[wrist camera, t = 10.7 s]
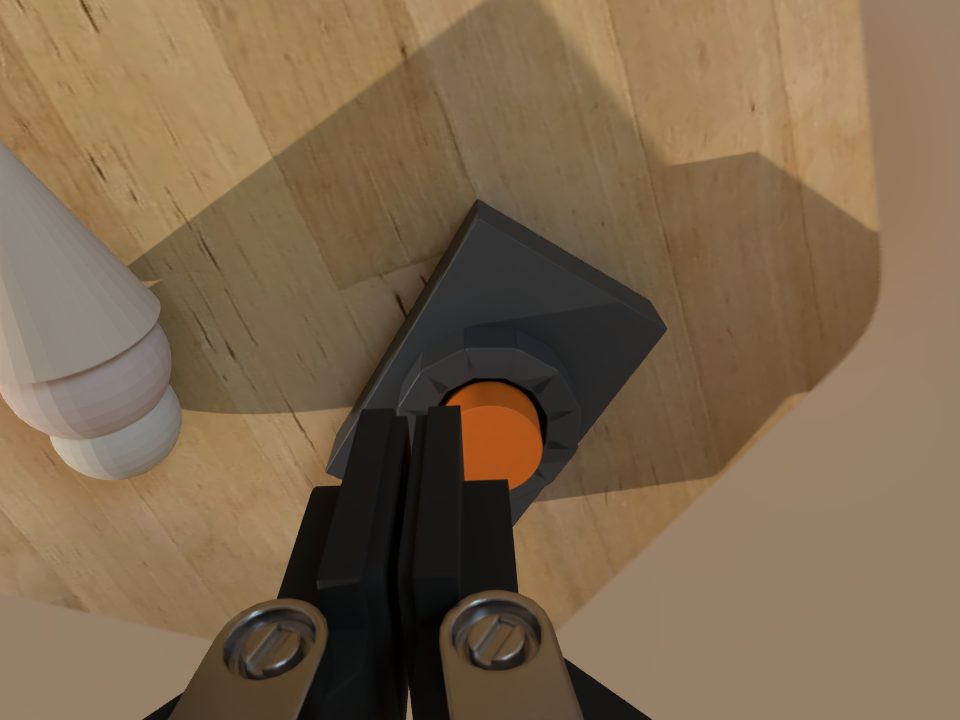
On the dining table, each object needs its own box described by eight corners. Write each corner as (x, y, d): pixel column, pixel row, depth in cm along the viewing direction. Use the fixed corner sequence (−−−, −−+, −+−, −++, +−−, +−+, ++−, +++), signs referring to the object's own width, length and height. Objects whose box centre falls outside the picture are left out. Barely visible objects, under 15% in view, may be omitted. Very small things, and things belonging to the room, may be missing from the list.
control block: (477, 198, 25) (479, 233, 21) (650, 301, 27) (681, 350, 23) (336, 435, 30) (315, 501, 26) (493, 509, 32) (496, 580, 28)
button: (471, 363, 24) (471, 388, 22) (557, 408, 25) (563, 435, 23) (421, 439, 25) (418, 467, 24) (504, 479, 26) (506, 509, 25)
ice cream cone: (30, 43, 23) (183, 394, 32) (-200, 89, 20) (41, 463, 29) (82, 67, 19) (241, 461, 28) (-194, 129, 16) (83, 549, 25)
